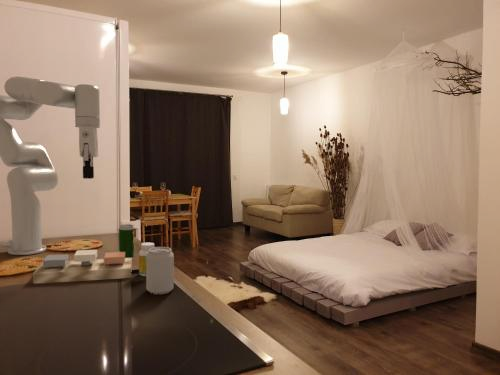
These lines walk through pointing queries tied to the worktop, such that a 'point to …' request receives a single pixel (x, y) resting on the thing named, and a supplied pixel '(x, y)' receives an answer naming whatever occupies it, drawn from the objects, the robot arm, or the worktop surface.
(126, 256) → the beer can
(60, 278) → the button board
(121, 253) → the terracotta tile
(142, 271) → the supplement bottle
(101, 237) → the worktop surface
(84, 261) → the cream tile
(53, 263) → the slate tile
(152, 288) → the can
